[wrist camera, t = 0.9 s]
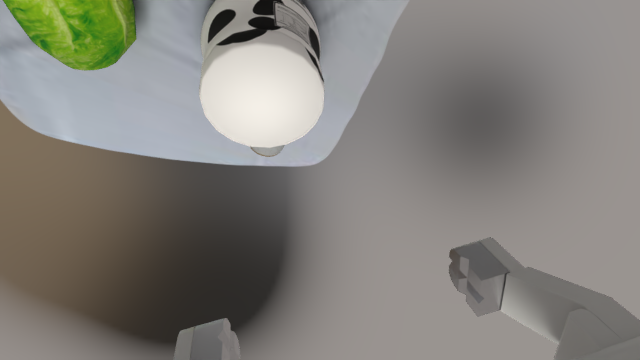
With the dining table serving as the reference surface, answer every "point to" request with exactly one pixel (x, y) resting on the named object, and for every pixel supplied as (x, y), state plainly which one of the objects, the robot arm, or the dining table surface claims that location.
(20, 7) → the lettuce
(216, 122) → the milk container
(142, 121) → the dining table surface
